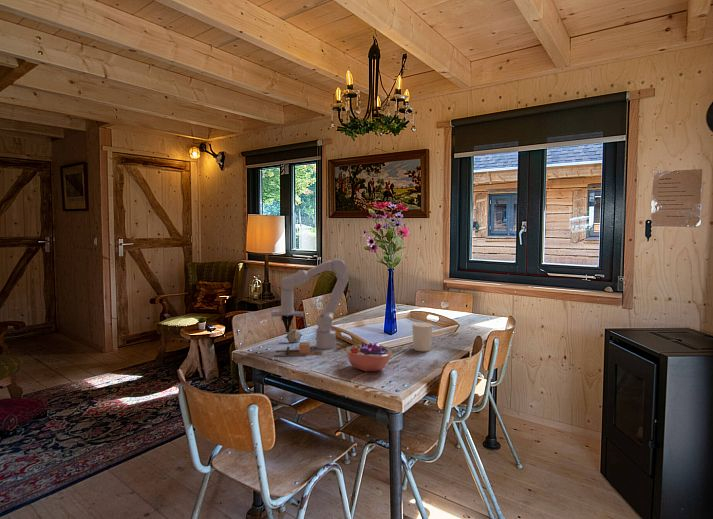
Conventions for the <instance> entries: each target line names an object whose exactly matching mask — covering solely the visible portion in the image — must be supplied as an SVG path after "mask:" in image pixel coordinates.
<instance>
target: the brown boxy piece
mask: <svg viewBox="0 0 713 519" xmlns="http://www.w3.org/2000/svg"><path fill="white" fill-rule="evenodd" d="M285 350H286V352H285V355H297V354H299V352H290V351H289V350H290V346H287V347H286V349H285ZM307 356H323V351H321V350H317V351H310V355H306V356H305V357H307Z"/></svg>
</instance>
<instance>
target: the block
mask: <svg viewBox="0 0 713 519" xmlns="http://www.w3.org/2000/svg"><path fill="white" fill-rule="evenodd" d="M298 344H299V345H298V346H299V348H298V350H299V354H306V355H308V356H311V355H310V352H311V348H310V347H311V343H310V342H309V341H308V342H307V341H306V342H299V343H298Z"/></svg>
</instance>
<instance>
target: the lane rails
mask: <svg viewBox="0 0 713 519" xmlns="http://www.w3.org/2000/svg"><path fill="white" fill-rule="evenodd" d="M289 351H290V352H299V349H289ZM275 353H286V349H276V350H275ZM273 357H274V358H287V357H291V358H292V357H307V356H306V354H297V355H286V354H273Z"/></svg>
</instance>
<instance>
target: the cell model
mask: <svg viewBox="0 0 713 519" xmlns="http://www.w3.org/2000/svg"><path fill="white" fill-rule="evenodd" d="M345 350H346V353H347V359H348V362H349V364H350V365H351V366H352V367H353V368H355V369H357V370H360V371H364V372H378V371H380V370H382V369H384V368H385V367H386V365H387V364H388V363H389V362H390V361H389V360H390V359H391V355H392V352H393V351H392V349H391V348H390V347H388V346H384V345H381V344H379V343H377V342H375V343H371V342H370V343H369V344H368V343H364V342H361V344H352V345H350V346H347V347H345Z"/></svg>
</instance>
